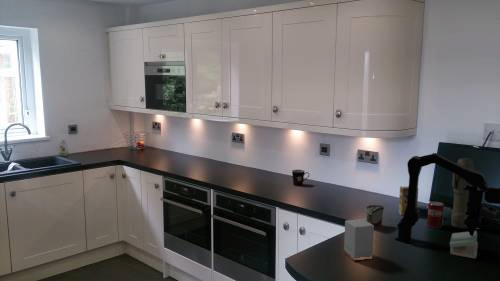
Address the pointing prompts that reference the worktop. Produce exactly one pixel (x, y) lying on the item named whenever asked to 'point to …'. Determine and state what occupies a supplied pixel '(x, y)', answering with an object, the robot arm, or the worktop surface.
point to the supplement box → (358, 238)
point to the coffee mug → (298, 177)
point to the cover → (463, 239)
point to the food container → (374, 215)
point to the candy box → (404, 199)
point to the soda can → (435, 214)
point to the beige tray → (465, 251)
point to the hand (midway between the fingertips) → (471, 235)
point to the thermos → (460, 195)
